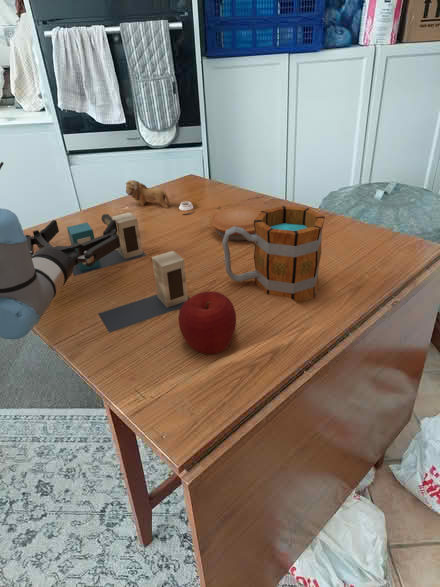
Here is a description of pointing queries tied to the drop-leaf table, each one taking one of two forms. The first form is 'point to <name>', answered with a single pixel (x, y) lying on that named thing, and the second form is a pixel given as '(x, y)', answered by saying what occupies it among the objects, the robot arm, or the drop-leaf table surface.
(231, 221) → the pie
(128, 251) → the letter
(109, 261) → the board
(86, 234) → the teal upright block
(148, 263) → the drop-leaf table surface
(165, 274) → the cream upright block
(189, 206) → the white jar
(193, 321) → the apple
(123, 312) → the front word board
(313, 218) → the mug
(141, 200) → the lion figurine
